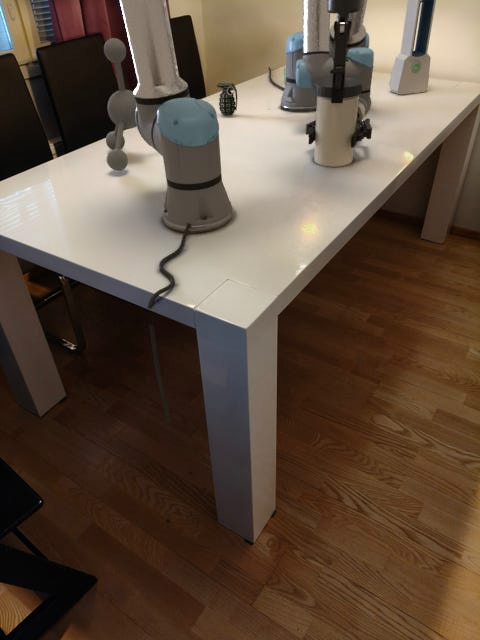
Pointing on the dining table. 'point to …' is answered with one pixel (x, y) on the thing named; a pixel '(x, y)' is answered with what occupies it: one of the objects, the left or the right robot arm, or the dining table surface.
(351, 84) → the lid
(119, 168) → the molecular model
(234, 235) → the dining table surface
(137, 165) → the dining table surface
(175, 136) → the left robot arm
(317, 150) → the jar
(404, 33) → the electronic device
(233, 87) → the grenade
